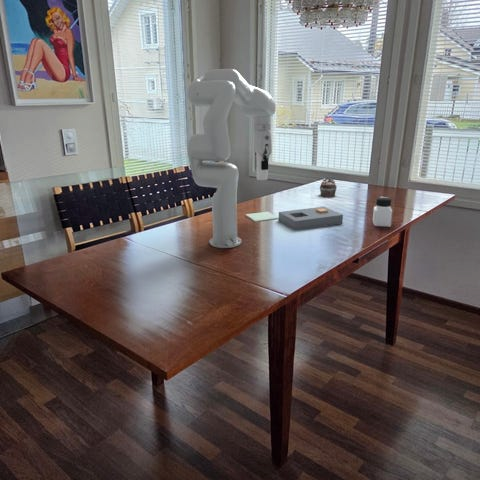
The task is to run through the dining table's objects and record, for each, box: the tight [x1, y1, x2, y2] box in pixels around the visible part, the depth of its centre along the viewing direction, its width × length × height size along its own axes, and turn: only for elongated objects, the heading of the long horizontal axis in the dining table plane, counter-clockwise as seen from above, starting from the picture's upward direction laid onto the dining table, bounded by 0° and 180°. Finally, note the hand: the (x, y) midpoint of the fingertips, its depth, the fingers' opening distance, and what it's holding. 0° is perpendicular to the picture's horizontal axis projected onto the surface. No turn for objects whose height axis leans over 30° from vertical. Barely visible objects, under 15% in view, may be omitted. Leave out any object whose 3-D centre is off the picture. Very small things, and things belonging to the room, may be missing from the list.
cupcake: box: [319, 177, 337, 198], centre depth 234 cm, size 10×10×10 cm
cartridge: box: [256, 153, 269, 181], centre depth 187 cm, size 5×5×13 cm
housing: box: [278, 206, 344, 231], centre depth 186 cm, size 16×24×4 cm, turn 111°
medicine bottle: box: [372, 196, 394, 228], centre depth 179 cm, size 7×7×12 cm
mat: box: [245, 211, 279, 223], centre depth 195 cm, size 12×12×1 cm
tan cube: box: [316, 208, 328, 214], centre depth 188 cm, size 4×4×4 cm
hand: (262, 168), depth 187 cm, fingers closed on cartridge, 5 cm apart
